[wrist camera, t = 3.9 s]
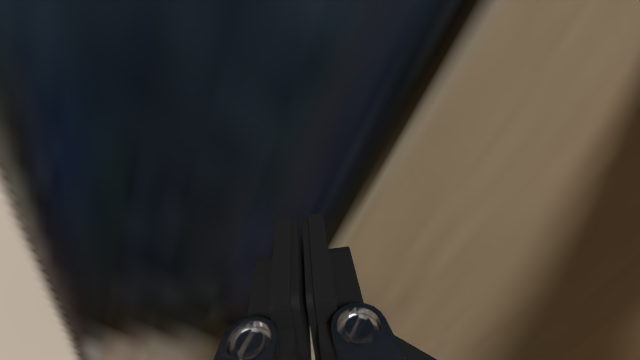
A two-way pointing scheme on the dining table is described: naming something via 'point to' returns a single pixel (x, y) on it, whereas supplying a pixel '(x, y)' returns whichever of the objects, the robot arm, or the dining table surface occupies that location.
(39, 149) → the dining table surface
